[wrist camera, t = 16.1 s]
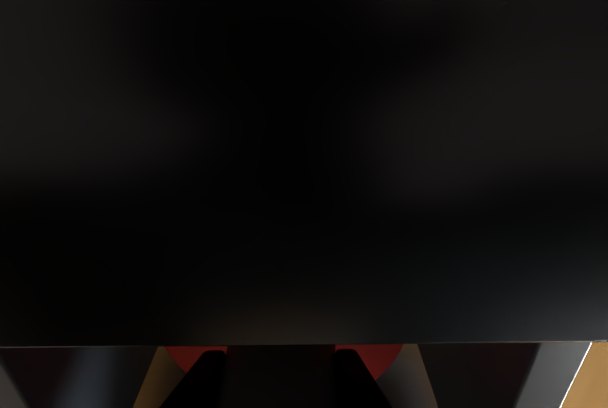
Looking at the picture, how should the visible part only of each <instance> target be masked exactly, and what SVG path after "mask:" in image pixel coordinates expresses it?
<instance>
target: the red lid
mask: <svg viewBox="0 0 608 408" xmlns="http://www.w3.org/2000/svg"><path fill="white" fill-rule="evenodd" d="M402 346H403V344H364V345H269V346H174V347H165V348H166V349H167V351H168V353H169V354H170V356H171V357H172V358H173V360H174V361H175V362H176V363H177V364H178V365H179V366H180V367H181V368H182V369H183V370H184V371H185V372H186V373H187V372H188V371H189V370H190V368H191V367H192V366H193V365H194V363H195V362H196V361H197V360H198V358H199V357H200V356H201V355H202V353H203V352H205V351H207V350H223V351H224V353H225V359H224V364H223V369H222V373H221V378H220V382H219V387H218V392H217V396H216V401H215V405H214V408H341V407H340V396H339V385H338V374H337V363H336V351H337V350H338V349H354V350H356V351H357V353H358V354H359V356H360V357H361V359H362V360H363V362H364V364H365V365H366V367H367V368H368V370H369V371H370V373H371V375H372V376H373V378H374V379H377V378H378V377H379V376H380V375H381V374H382V373H383V372H384V371H385V370H387V368H388V367H389V366H390V365H391V364H392V363H393V361H394V360H395V359H396V357H397V355H398V354H399V352H400V351H401V349H402Z"/></svg>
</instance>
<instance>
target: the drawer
mask: <svg viewBox="0 0 608 408" xmlns="http://www.w3.org/2000/svg"><path fill="white" fill-rule="evenodd" d="M591 344H592V342H555V343H459V344H403V346H402V349H401V351H400V352H399V354H398V355H397V357H396V359H395V360H394V361H393V363H392V364H391V365H390V366H389V367H388V368H387V370H385V371H384V372H383V373H382V374H381V375H380V376H379V377H378V378H377V379H375V381H376V383H377V384H378V386H379V387H380V389H381V391H382V392H383V394H384V395H385V397H386V398H387V400H388V402H389V403H390V405H391V406H392V408H560V407H561V405H562V403H563V401H564V399H565V397H566V395H567V393H568V391H569V389H570V387H571V385H572V383H573V381H574V379H575V377H576V375H577V373H578V371H579V369H580V367H581V365H582V362H583V360H584V358H585V356H586V354H587V352H588V350H589V348H590V346H591ZM185 375H186V372H185V371H184V370H183V369H182V368H181V367H180V366H179V365H178V364H177V363H176V362H175V361H174V360H173V358H172V357H171V356H170V354H169V353H168V351H167V349H166V348H165V347H79V348H0V408H159V407H160V406H161V405H162V403H163V402H164V401H165V400H166V398H167V397H168V396H169V395H170V393H171V392H172V391H173V390H174V388H175V387H176V386H177V385H178V383H179V382H180V381H181V380H182V378H183V377H184V376H185Z"/></svg>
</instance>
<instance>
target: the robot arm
mask: <svg viewBox="0 0 608 408" xmlns="http://www.w3.org/2000/svg"><path fill="white" fill-rule="evenodd" d="M224 359H225V353H224V351H223V350H207V351H205V352H203V353H202V355H201V356H200V357H199V358H198V360H197V361H196V362H195V363H194V365H193V366H192V367H191V368H190V370H189V371H188V372H187V373H186V375H185V376H184V377H183V378H182V380H181V381H180V382H179V383H178V385H177V386H176V387H175V388H174V390H173V391H172V392H171V393H170V395H169V396H168V397H167V398H166V400H165V401H164V402H163V403H162V405H161V406H160V407H159V408H214V405H215V401H216V396H217V392H218V387H219V382H220V378H221V373H222V369H223V364H224ZM336 363H337V374H338V385H339V396H340V407H341V408H392V406H391V405H390V403H389V402H388V400H387V398H386V397H385V395H384V394H383V392H382V391H381V389H380V387H379V386H378V384H377V383H376V381H375V379H374V378H373V376H372V375H371V373H370V371H369V370H368V368H367V367H366V365H365V364H364V362H363V360H362V359H361V357H360V356H359V354H358V353H357V351H356V350H354V349H338V350H337V351H336Z"/></svg>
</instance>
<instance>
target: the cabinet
mask: <svg viewBox="0 0 608 408" xmlns="http://www.w3.org/2000/svg"><path fill="white" fill-rule="evenodd" d="M555 342H608V0H0V348H79V347H174V346H269V345H364V344H459V343H555Z"/></svg>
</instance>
